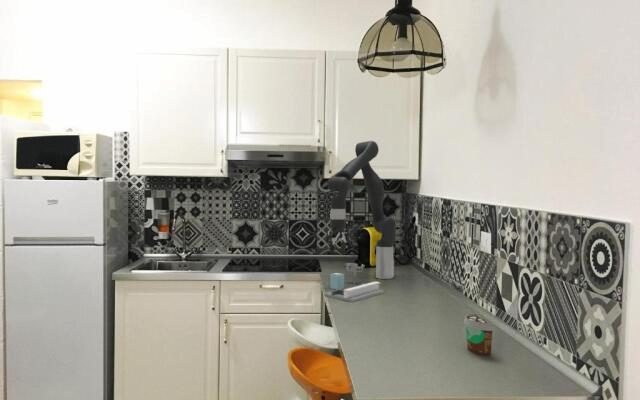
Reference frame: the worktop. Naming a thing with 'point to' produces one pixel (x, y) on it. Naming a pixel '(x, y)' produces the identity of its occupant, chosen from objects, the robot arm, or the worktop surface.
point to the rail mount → (356, 292)
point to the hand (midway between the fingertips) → (337, 251)
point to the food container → (478, 334)
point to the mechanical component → (354, 270)
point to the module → (336, 281)
